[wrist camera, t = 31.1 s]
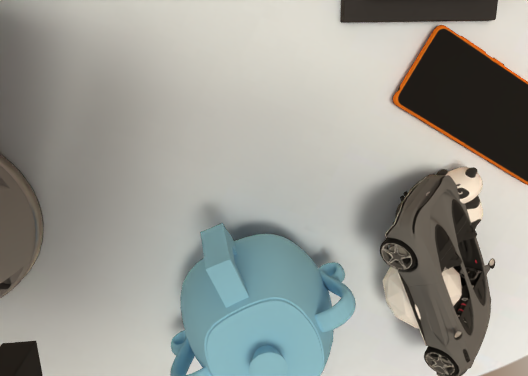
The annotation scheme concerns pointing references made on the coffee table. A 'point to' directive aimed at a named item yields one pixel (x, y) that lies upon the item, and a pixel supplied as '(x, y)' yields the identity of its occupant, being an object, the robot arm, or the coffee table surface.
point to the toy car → (440, 268)
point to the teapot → (258, 308)
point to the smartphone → (469, 100)
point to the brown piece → (417, 10)
